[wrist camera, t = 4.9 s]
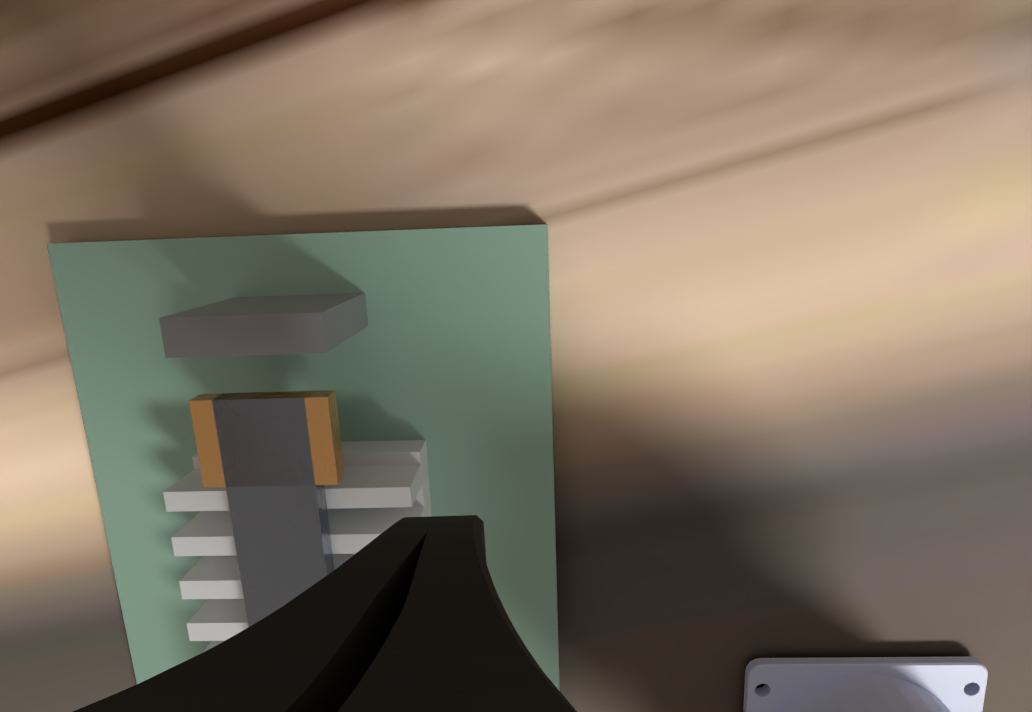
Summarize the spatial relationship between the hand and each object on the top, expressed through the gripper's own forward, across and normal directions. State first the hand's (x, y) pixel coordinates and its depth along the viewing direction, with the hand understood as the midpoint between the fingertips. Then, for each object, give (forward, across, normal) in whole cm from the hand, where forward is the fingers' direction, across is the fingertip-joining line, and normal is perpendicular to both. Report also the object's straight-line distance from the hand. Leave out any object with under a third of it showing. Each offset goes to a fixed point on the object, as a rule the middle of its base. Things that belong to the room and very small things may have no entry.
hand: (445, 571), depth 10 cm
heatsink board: (+10, +6, +4) cm, 12 cm away
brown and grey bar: (+7, +6, +5) cm, 10 cm away
